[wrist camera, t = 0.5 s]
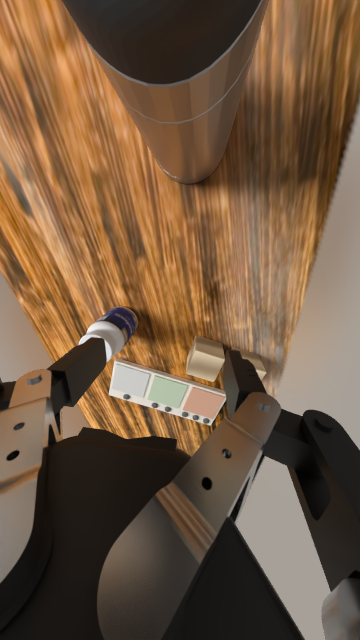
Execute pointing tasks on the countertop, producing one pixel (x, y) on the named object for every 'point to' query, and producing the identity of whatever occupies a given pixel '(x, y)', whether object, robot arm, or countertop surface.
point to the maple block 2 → (252, 361)
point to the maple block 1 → (205, 358)
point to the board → (165, 392)
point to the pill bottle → (113, 329)
